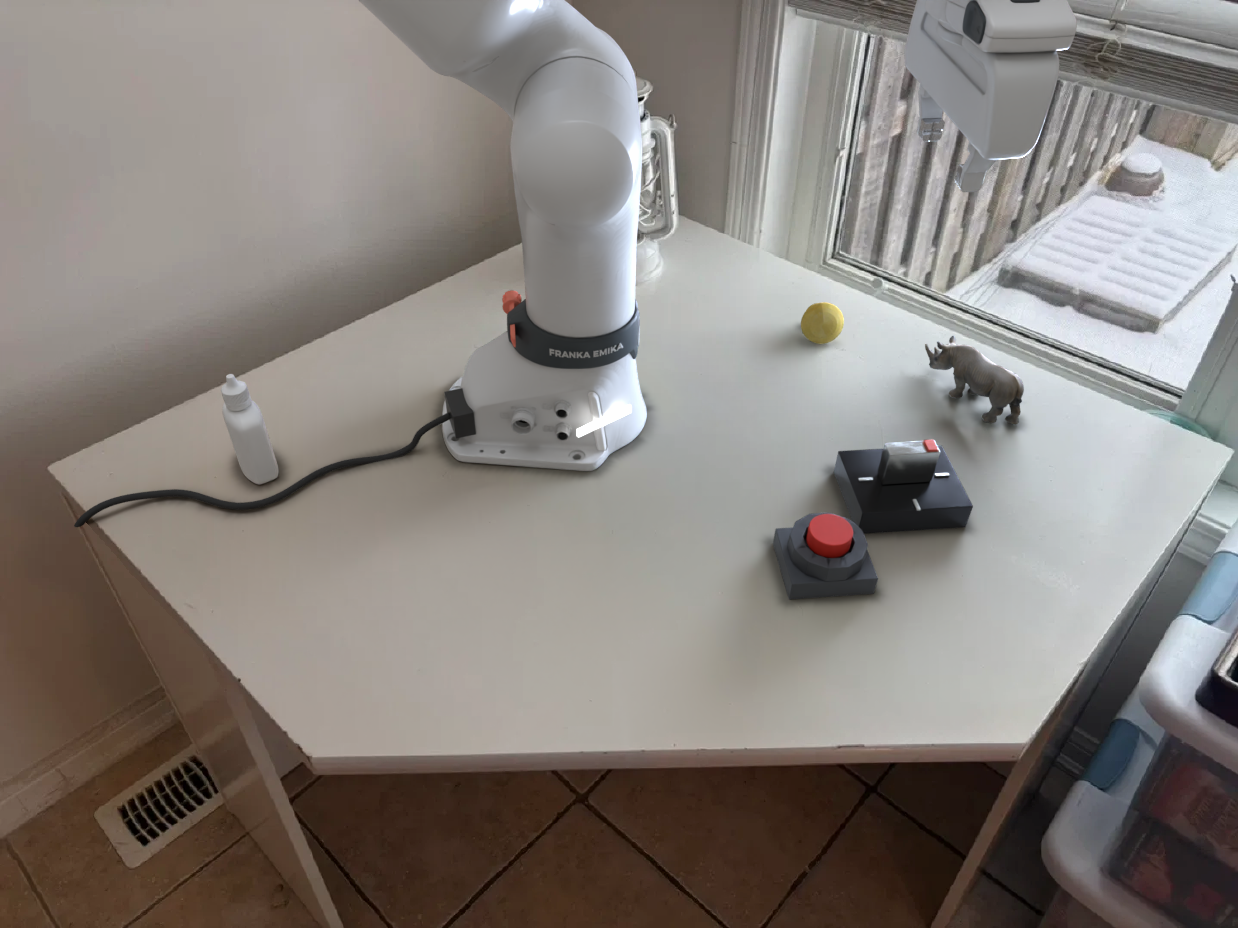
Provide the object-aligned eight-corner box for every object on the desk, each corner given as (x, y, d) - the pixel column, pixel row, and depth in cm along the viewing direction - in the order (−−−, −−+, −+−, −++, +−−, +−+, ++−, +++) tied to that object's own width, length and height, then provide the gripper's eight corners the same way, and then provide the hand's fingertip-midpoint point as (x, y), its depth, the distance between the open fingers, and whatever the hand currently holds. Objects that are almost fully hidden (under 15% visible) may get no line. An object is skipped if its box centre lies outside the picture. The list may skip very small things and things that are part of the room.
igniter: (788, 600, 89) (794, 571, 86) (772, 543, 94) (777, 514, 91) (874, 594, 90) (882, 565, 87) (853, 538, 95) (860, 509, 92)
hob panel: (857, 535, 95) (863, 512, 93) (833, 471, 102) (838, 448, 100) (966, 528, 96) (974, 505, 94) (934, 465, 103) (942, 443, 101)
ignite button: (812, 559, 88) (814, 546, 87) (801, 528, 91) (804, 514, 90) (855, 557, 88) (858, 544, 87) (843, 525, 91) (846, 512, 90)
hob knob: (882, 484, 96) (890, 453, 93) (876, 472, 97) (885, 440, 94) (931, 482, 96) (941, 450, 94) (925, 469, 98) (935, 437, 95)
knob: (841, 346, 118) (848, 311, 115) (799, 345, 118) (805, 311, 115) (836, 324, 122) (842, 290, 118) (794, 323, 122) (800, 289, 118)
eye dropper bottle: (285, 449, 103) (258, 357, 95) (277, 485, 99) (248, 392, 91) (242, 451, 103) (212, 359, 95) (233, 488, 99) (200, 395, 91)
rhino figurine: (933, 358, 117) (945, 316, 113) (1025, 421, 108) (1041, 378, 104) (908, 369, 115) (920, 327, 111) (999, 434, 107) (1015, 391, 103)
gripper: (904, -50, 81) (874, 113, 90) (1000, 37, 66) (952, 222, 75) (977, -52, 81) (940, 111, 91) (1089, 34, 66) (1031, 218, 76)
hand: (946, 162), depth 83 cm, fingers open, 8 cm apart
